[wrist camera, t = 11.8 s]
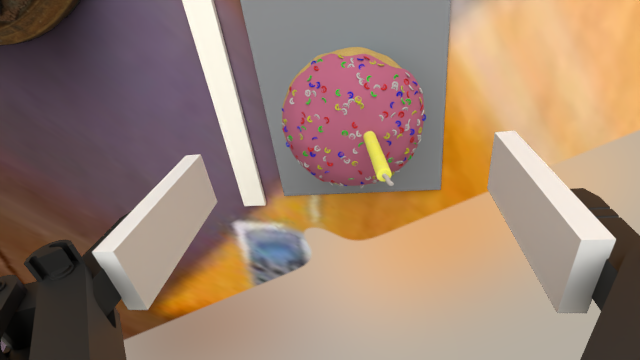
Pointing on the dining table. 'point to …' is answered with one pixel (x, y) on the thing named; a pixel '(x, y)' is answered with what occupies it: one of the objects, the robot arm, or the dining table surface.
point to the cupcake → (353, 117)
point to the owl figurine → (31, 18)
